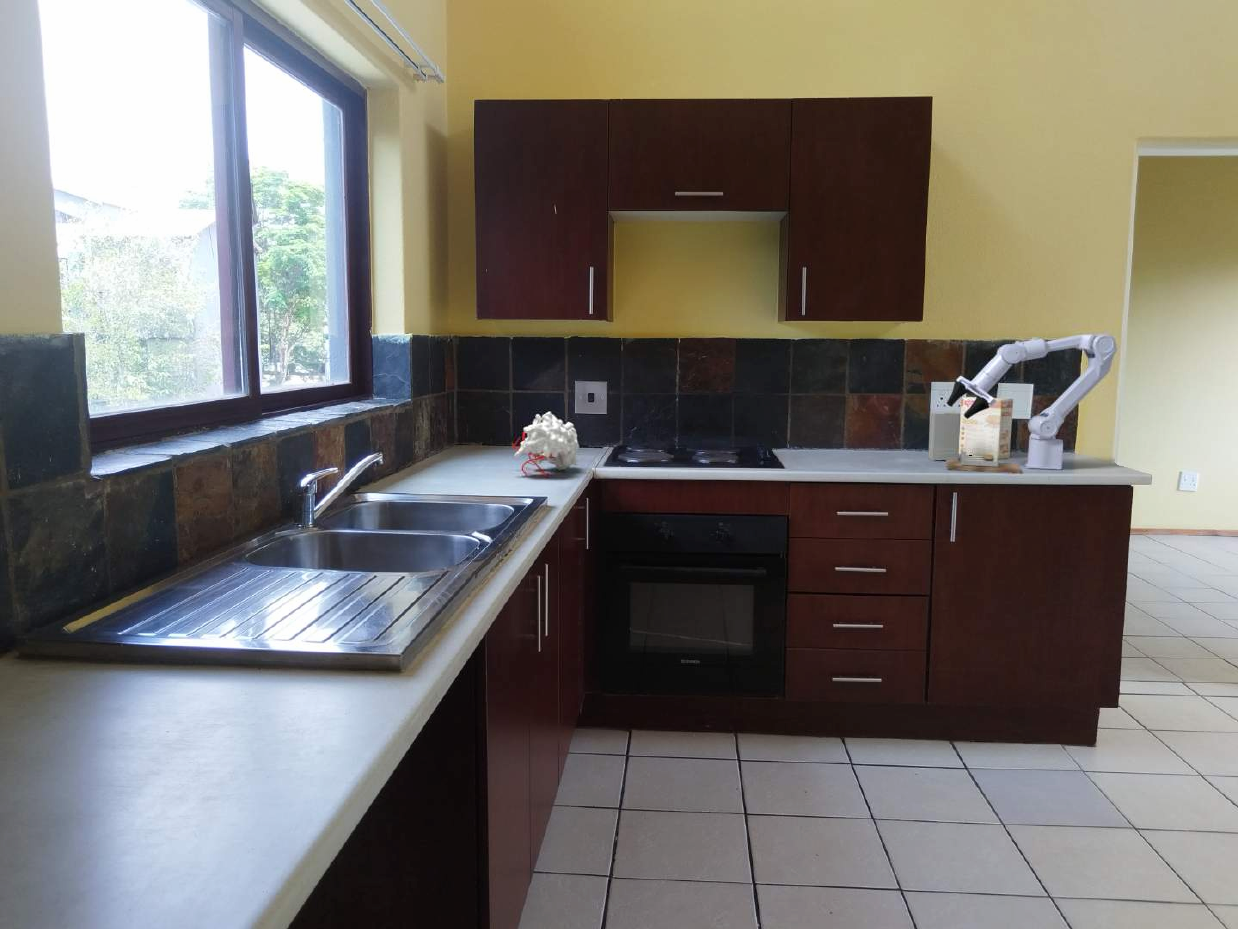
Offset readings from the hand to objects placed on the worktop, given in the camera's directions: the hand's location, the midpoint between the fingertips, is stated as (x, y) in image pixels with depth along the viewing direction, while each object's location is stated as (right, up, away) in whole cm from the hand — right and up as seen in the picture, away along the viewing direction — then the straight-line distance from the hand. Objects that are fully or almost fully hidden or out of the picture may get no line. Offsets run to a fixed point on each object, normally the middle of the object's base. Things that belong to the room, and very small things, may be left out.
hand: (956, 411), depth 278 cm
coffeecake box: (+18, -14, +25) cm, 34 cm away
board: (+6, -18, -4) cm, 19 cm away
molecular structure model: (-124, -19, -22) cm, 127 cm away
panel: (+5, -16, -4) cm, 17 cm away
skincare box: (+1, -15, +14) cm, 21 cm away
